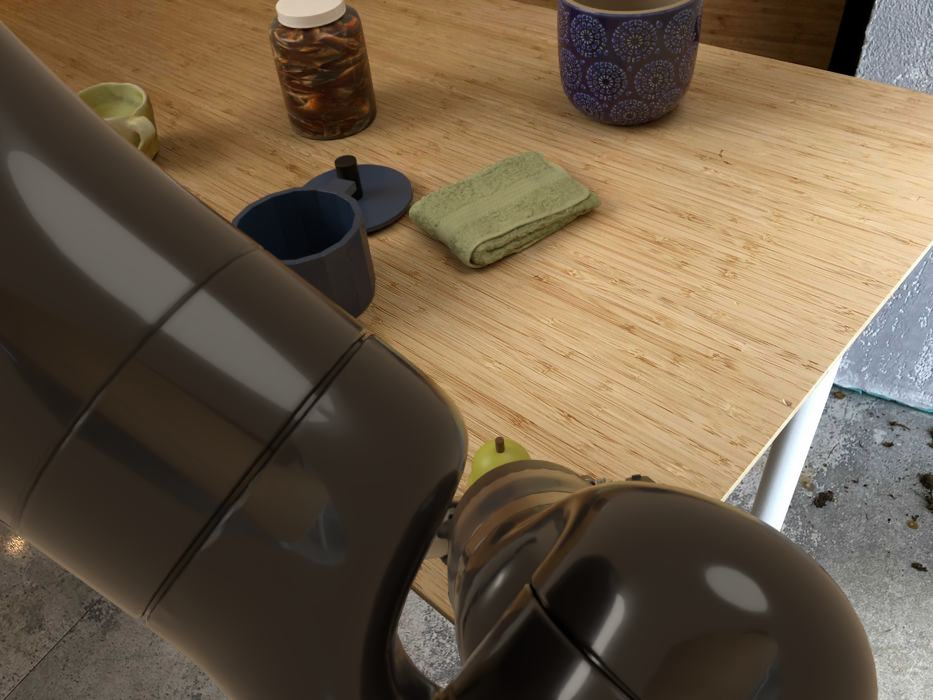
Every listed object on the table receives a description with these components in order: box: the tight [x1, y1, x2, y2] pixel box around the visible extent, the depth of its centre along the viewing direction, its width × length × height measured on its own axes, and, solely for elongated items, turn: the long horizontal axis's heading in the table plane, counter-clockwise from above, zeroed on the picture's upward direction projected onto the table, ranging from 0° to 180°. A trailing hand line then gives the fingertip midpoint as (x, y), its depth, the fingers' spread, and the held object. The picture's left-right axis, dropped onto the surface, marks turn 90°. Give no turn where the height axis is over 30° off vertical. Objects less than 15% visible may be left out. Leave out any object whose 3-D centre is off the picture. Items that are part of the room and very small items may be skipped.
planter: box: [556, 0, 705, 126], centre depth 101 cm, size 17×16×15 cm
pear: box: [467, 436, 532, 489], centre depth 59 cm, size 5×5×10 cm
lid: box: [301, 154, 414, 233], centre depth 93 cm, size 13×13×6 cm
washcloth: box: [408, 151, 602, 269], centre depth 90 cm, size 13×18×3 cm
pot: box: [231, 178, 377, 319], centre depth 81 cm, size 12×18×8 cm
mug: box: [76, 81, 160, 161], centre depth 104 cm, size 12×10×10 cm
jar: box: [268, 0, 378, 141], centre depth 105 cm, size 12×12×15 cm
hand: (512, 503), depth 50 cm, fingers open, 8 cm apart
